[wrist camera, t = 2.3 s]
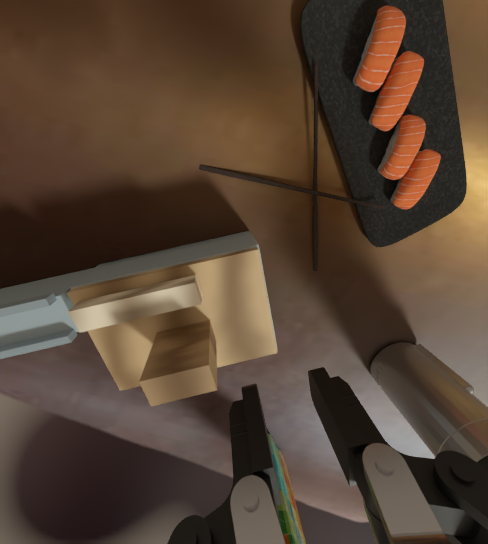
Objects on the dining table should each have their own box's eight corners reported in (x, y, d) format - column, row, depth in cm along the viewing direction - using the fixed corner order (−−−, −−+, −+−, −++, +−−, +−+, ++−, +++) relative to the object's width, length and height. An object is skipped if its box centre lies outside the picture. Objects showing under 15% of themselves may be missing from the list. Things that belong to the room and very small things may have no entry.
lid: (257, 246, 26) (274, 275, 18) (275, 347, 31) (295, 401, 23) (72, 288, 25) (12, 335, 18) (123, 384, 30) (93, 451, 23)
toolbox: (249, 229, 32) (262, 249, 24) (266, 318, 37) (281, 360, 29) (-3, 286, 31) (-85, 328, 22) (52, 369, 36) (3, 428, 28)
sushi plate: (457, 202, 35) (485, 205, 31) (272, 300, 37) (279, 314, 34) (415, -66, 24) (450, -108, 20) (157, 99, 26) (149, 87, 23)
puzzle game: (243, 432, 46) (262, 602, 28) (265, 422, 46) (300, 588, 28) (264, 465, 51) (293, 630, 32) (285, 456, 50) (326, 618, 32)
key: (196, 274, 25) (194, 282, 23) (202, 295, 26) (201, 304, 24) (78, 301, 24) (67, 311, 22) (89, 321, 25) (79, 332, 23)
